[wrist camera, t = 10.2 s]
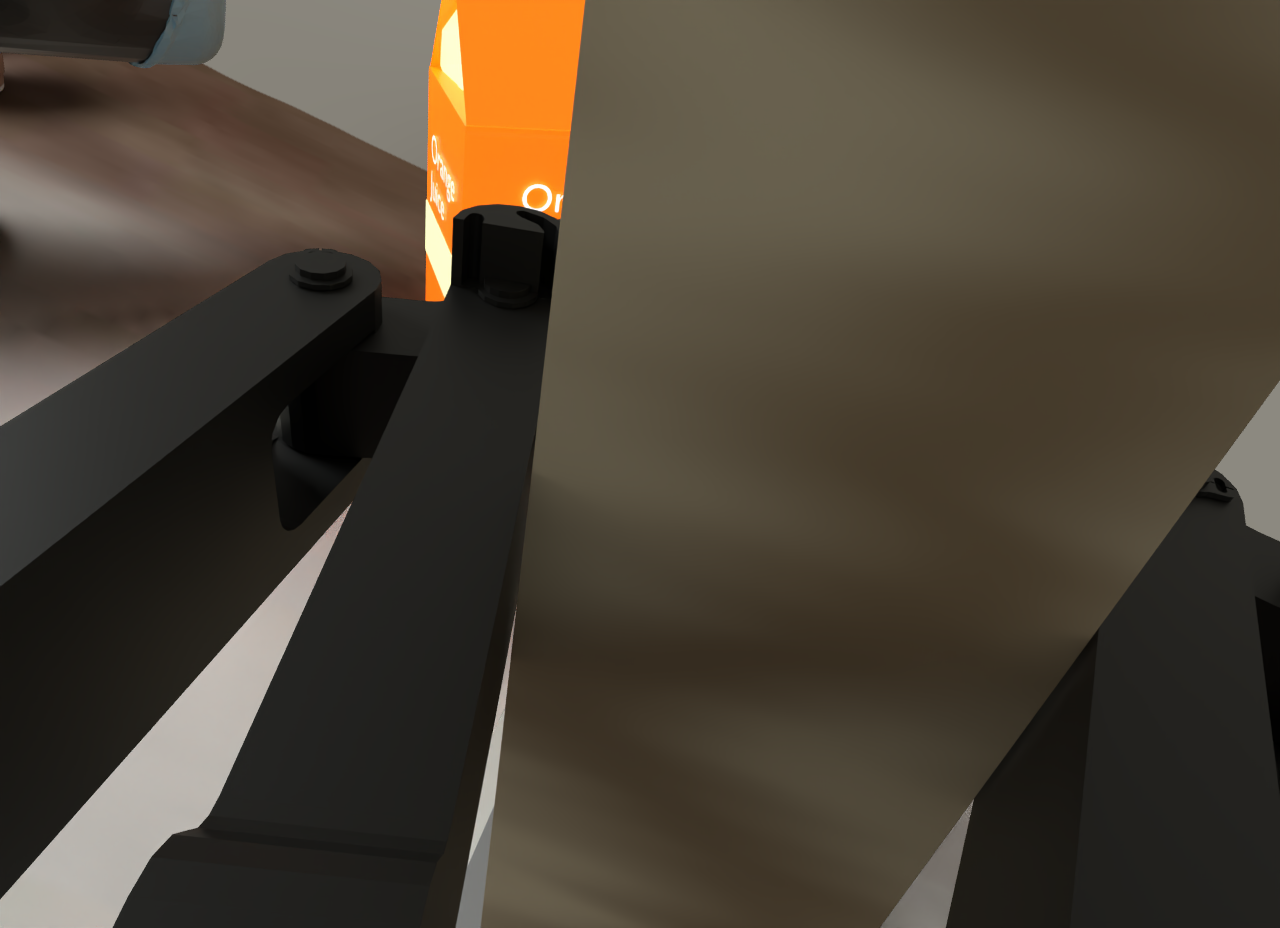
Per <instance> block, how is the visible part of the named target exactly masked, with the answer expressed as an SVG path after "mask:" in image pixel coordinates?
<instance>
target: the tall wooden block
mask: <svg viewBox="0 0 1280 928" xmlns="http://www.w3.org/2000/svg"><path fill="white" fill-rule="evenodd" d="M1279 381H1280V0H585V6H584V15H583V23H582V32H581V41H580V50H579V59H578V68H577V77H576V86H575V94H574V103H573V112H572V121H571V130H570V139H569V148H568V156H567V165H566V174H565V183H564V192H563V201H562V210H561V219H560V227H559V236H558V245H557V254H556V263H555V272H554V281H553V289H552V298H551V307H550V316H549V325H548V334H547V343H546V352H545V360H544V369H543V378H542V387H541V396H540V405H539V414H538V422H537V431H536V440H535V449H534V458H533V467H532V476H531V485H530V493H529V502H528V511H527V520H526V529H525V538H524V547H523V555H522V564H521V573H520V582H519V591H518V600H517V609H516V618H515V626H514V635H513V644H512V653H511V662H510V671H509V680H508V688H507V697H506V706H505V715H504V724H503V733H502V742H501V751H500V759H499V768H498V777H497V786H496V795H495V804H494V813H493V821H492V830H491V839H490V848H489V857H488V866H487V875H486V884H485V892H484V901H483V910H482V919H481V928H880V926H881V925H882V924H883V922H884V921H885V920H886V918H887V917H888V916H889V914H890V913H891V911H892V910H893V909H894V907H895V906H896V905H897V903H898V902H899V901H900V899H901V898H902V896H903V895H904V894H905V892H906V891H907V890H908V888H909V887H910V885H911V884H912V883H913V881H914V880H915V879H916V877H917V876H918V875H919V873H920V872H921V870H922V869H923V868H924V866H925V865H926V864H927V862H928V861H929V859H930V858H931V857H932V855H933V854H934V853H935V851H936V850H937V849H938V847H939V846H940V844H941V843H942V842H943V840H944V839H945V838H946V836H947V835H948V833H949V832H950V831H951V829H952V828H953V827H954V825H955V824H956V823H957V821H958V820H959V818H960V817H961V816H962V814H963V813H964V812H965V810H966V809H967V807H968V806H969V805H970V803H971V802H972V801H973V799H974V798H975V797H976V795H977V794H978V792H979V791H980V790H981V788H982V787H983V786H984V784H985V783H986V781H987V780H988V779H989V777H990V776H991V775H992V773H993V772H994V771H995V769H996V768H997V766H998V765H999V764H1000V762H1001V761H1002V760H1003V758H1004V757H1005V755H1006V754H1007V753H1008V751H1009V750H1010V749H1011V747H1012V746H1013V745H1014V743H1015V742H1016V740H1017V739H1018V738H1019V736H1020V735H1021V734H1022V732H1023V731H1024V730H1025V728H1026V727H1027V725H1028V724H1029V723H1030V721H1031V720H1032V719H1033V717H1034V716H1035V714H1036V713H1037V712H1038V710H1039V709H1040V708H1041V706H1042V705H1043V704H1044V702H1045V701H1046V699H1047V698H1048V697H1049V695H1050V694H1051V693H1052V691H1053V690H1054V688H1055V687H1056V686H1057V684H1058V683H1059V682H1060V680H1061V679H1062V678H1063V676H1064V675H1065V673H1066V672H1067V671H1068V669H1069V668H1070V667H1071V665H1072V664H1073V662H1074V661H1075V660H1076V658H1077V657H1078V656H1079V654H1080V653H1081V652H1082V650H1083V649H1084V647H1085V646H1086V645H1087V643H1088V642H1089V641H1090V639H1091V638H1092V636H1093V635H1094V634H1095V632H1096V631H1097V630H1098V628H1099V627H1100V626H1101V624H1102V623H1103V621H1104V620H1105V619H1106V617H1107V616H1108V615H1109V613H1110V612H1111V610H1112V609H1113V608H1114V606H1115V605H1116V604H1117V602H1118V601H1119V600H1120V598H1121V597H1122V595H1123V594H1124V593H1125V591H1126V590H1127V589H1128V587H1129V586H1130V585H1131V583H1132V582H1133V580H1134V579H1135V578H1136V576H1137V575H1138V574H1139V572H1140V571H1141V569H1142V568H1143V567H1144V565H1145V564H1146V563H1147V561H1148V560H1149V559H1150V557H1151V556H1152V554H1153V553H1154V552H1155V550H1156V549H1157V548H1158V546H1159V545H1160V543H1161V542H1162V541H1163V539H1164V538H1165V537H1166V535H1167V534H1168V533H1169V531H1170V530H1171V528H1172V527H1173V526H1174V524H1175V523H1176V522H1177V520H1178V519H1179V517H1180V516H1181V515H1182V513H1183V512H1184V511H1185V509H1186V508H1187V507H1188V505H1189V504H1190V502H1191V501H1192V500H1193V498H1194V497H1195V496H1196V494H1197V493H1198V491H1199V490H1200V489H1201V487H1202V486H1203V485H1204V483H1205V482H1206V481H1207V479H1208V478H1209V476H1210V475H1211V474H1212V472H1213V471H1214V470H1215V468H1216V467H1217V465H1218V464H1219V463H1220V461H1221V460H1222V459H1223V457H1224V456H1225V455H1226V453H1227V452H1228V450H1229V449H1230V448H1231V446H1232V445H1233V444H1234V442H1235V441H1236V439H1237V438H1238V437H1239V435H1240V434H1241V433H1242V431H1243V430H1244V429H1245V427H1246V426H1247V424H1248V423H1249V422H1250V420H1251V419H1252V418H1253V416H1254V415H1255V414H1256V412H1257V410H1258V409H1259V408H1260V407H1261V405H1262V404H1263V402H1264V401H1265V400H1266V398H1267V397H1268V396H1269V394H1270V393H1271V392H1272V390H1273V389H1274V388H1275V386H1276V385H1277V383H1278V382H1279Z"/></svg>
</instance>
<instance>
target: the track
mask: <svg viewBox="0 0 1280 928" xmlns="http://www.w3.org/2000/svg"><path fill="white" fill-rule="evenodd" d="M504 715H505V709H504V711H503V713H502V715H501V717H500V719H499V721H498V723H497V726H496V728H495V730H494V732H493V734H492V738H491V743H490V748H489V754H488V759H487V764H486V770H485V775H484V780H483V785H482V791H481V796H480V801H479V807H478V812H477V817H476V822H475V828H474V833H473V838H472V844H471V849H470V854H469V860H468V865H467V870H466V875H465V881H464V886H463V891H462V897H461V902H460V907H459V913H458V918H457V923H456V928H481V919H482V910H483V901H484V892H485V884H486V875H487V866H488V857H489V848H490V839H491V830H492V821H493V813H494V804H495V795H496V786H497V777H498V768H499V759H500V751H501V742H502V733H503V724H504Z"/></svg>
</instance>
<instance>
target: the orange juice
mask: <svg viewBox="0 0 1280 928" xmlns="http://www.w3.org/2000/svg"><path fill="white" fill-rule="evenodd" d="M584 6H585V0H442V1H441V7H440V13H439V19H438V25H437V31H436V37H435V43H434V49H433V55H432V61H431V66H429V110H428V111H429V112H428V175H427V200H426V241H425V250H426V301H444V298H445V296H446V294H447V292H448V289H449V287H450V285H451V260H452V230H453V217H454V216H456V215H457V214H458V213H459V212H460V211H461V210H464V209H467V208H470V207H474V206H477V205H489V204H504V205H515V206H522V207H526V208H530V209H534V210H538V211H541V212H544V213H546V214H548V215H550V216H552V217H555V218H557V219H560V218H561V210H562V201H563V192H564V183H565V174H566V165H567V156H568V148H569V139H570V130H571V121H572V112H573V103H574V94H575V86H576V77H577V68H578V59H579V50H580V41H581V32H582V23H583V15H584Z"/></svg>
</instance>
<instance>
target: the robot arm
mask: <svg viewBox="0 0 1280 928" xmlns="http://www.w3.org/2000/svg"><path fill="white" fill-rule="evenodd" d="M225 12H226V0H0V52H3V53H16V54H29V55H43V56H56V57H69V58H82V59H95V60H109V61H122V62H129V63H130V64H131V65H133V66H136V67H141V68H149V67H151V66H153V65H155V64H179V65H197V64H202V63H205V62H207V61H209V60H210V59H212V58H213V57H214V56H215V55H216V54H217V53H218V51H219V49H220V47H221V45H222V41H223V37H224V29H225ZM560 219H561V218H560ZM560 219H557V218H555V217H552V216H550V215H548V214H546V213H544V212H541V211H538V210H534V209H530V208H526V207H522V206H515V205H504V204H489V205H477V206H474V207H470V208H467V209H464V210H461V211H460V212H459V213H458V214H457V215H456V216H454V217H453V230H452V260H451V285H450V287H449V289H448V292H447V294H446V296H445V298H444V301H418V300H408V299H398V298H389V297H382V284H381V276H380V272H379V270H378V269H377V268H376V267H375V266H373V265H372V264H371V263H370V262H369V261H366V260H364V259H361V258H359V257H357V256H354V255H352V254H346V253H341V252H337V251H336V250H333V249H322V251H321V250H319V248H318V249H305V250H304V251H300V252H294V253H288V254H284V255H282V256H279V257H277V258H274V259H272V260H269V261H268V262H266V263H265V264H263V265H261V266H260V267H258V268H256V269H255V270H253V271H252V272H250V273H248V274H247V275H245V276H243V277H242V278H240V279H239V280H237V281H235V282H234V283H232V284H230V285H229V286H227V287H226V288H224V289H222V290H221V291H219V292H218V293H216V294H214V295H213V296H211V297H209V298H208V299H206V300H205V301H203V302H201V303H200V304H198V305H196V306H195V307H193V308H192V309H190V310H188V311H187V312H185V313H183V314H182V315H180V316H179V317H177V318H175V319H174V320H172V321H170V322H169V323H167V324H166V325H164V326H162V327H161V328H159V329H158V330H156V331H154V332H153V333H151V334H149V335H148V336H146V337H145V338H143V339H141V340H140V341H138V342H136V343H135V344H133V345H132V346H130V347H128V348H127V349H125V350H123V351H122V352H120V353H119V354H117V355H115V356H114V357H112V358H110V359H109V360H107V361H106V362H104V363H102V364H101V365H99V366H98V367H96V368H94V369H93V370H91V371H89V372H88V373H86V374H85V375H83V376H81V377H80V378H78V379H76V380H75V381H73V382H72V383H70V384H68V385H67V386H65V387H63V388H62V389H60V390H59V391H57V392H55V393H54V394H52V395H50V396H49V397H47V398H46V399H44V400H42V401H41V402H39V403H38V404H36V405H34V406H33V407H31V408H29V409H28V410H26V411H25V412H23V413H21V414H20V415H18V416H16V417H15V418H13V419H12V420H10V421H8V422H7V423H5V424H3V425H2V426H0V899H1V898H2V897H3V896H4V894H5V893H6V892H7V891H8V890H9V889H10V888H11V887H12V885H13V884H14V883H15V882H16V881H17V880H18V879H19V878H20V876H21V875H22V874H23V873H24V872H25V871H26V870H27V868H28V867H29V866H30V865H31V864H32V863H33V862H34V861H35V859H36V858H37V857H38V856H39V855H40V854H41V853H42V852H43V850H44V849H45V848H46V847H47V846H48V845H49V844H50V843H51V841H52V840H53V839H54V838H55V837H56V836H57V835H58V833H59V832H60V831H61V830H62V829H63V828H64V827H65V826H66V824H67V823H68V822H69V821H70V820H71V819H72V818H73V817H74V815H75V814H76V813H77V812H78V811H79V810H80V809H81V807H82V806H83V805H84V804H85V803H86V802H87V801H88V800H89V798H90V797H91V796H92V795H93V794H94V793H95V792H96V791H97V789H98V788H99V787H100V786H101V785H102V784H103V783H104V782H105V780H106V779H107V778H108V777H109V776H110V775H111V774H112V772H113V771H114V770H115V769H116V768H117V767H118V766H119V765H120V763H121V762H122V761H123V760H124V759H125V758H126V757H127V756H128V754H129V753H130V752H131V751H132V750H133V749H134V748H135V747H136V745H137V744H138V743H139V742H140V741H141V740H142V739H143V737H144V736H145V735H146V734H147V733H148V732H149V731H150V730H151V728H152V727H153V726H154V725H155V724H156V723H157V722H158V721H159V719H160V718H161V717H162V716H163V715H164V714H165V713H166V711H167V710H168V709H169V708H170V707H171V706H172V705H173V704H174V702H175V701H176V700H177V699H178V698H179V697H180V696H181V695H182V693H183V692H184V691H185V690H186V689H187V688H188V687H189V686H190V684H191V683H192V682H193V681H194V680H195V679H196V678H197V676H198V675H199V674H200V673H201V672H202V671H203V670H204V669H205V667H206V666H207V665H208V664H209V663H210V662H211V661H212V660H213V658H214V657H215V656H216V655H217V654H218V653H219V652H220V650H221V649H222V648H223V647H224V646H225V645H226V644H227V643H228V641H229V640H230V639H231V638H232V637H233V636H234V635H235V634H236V632H237V631H238V630H239V629H240V628H241V627H242V626H243V625H244V623H245V622H246V621H247V620H248V619H249V618H250V617H251V615H252V614H253V613H254V612H255V611H256V610H257V609H258V608H259V606H260V605H261V604H262V603H263V602H264V601H265V600H266V599H267V597H268V596H269V595H270V594H271V593H272V592H273V591H274V589H275V588H276V587H277V586H278V585H279V584H280V583H281V582H282V580H283V579H284V578H285V577H286V576H287V575H288V574H289V573H290V571H291V570H292V569H293V568H294V567H295V566H296V565H297V564H298V562H299V561H300V560H301V559H302V558H303V557H304V556H305V554H306V553H307V552H308V551H309V550H310V549H311V548H312V547H313V545H314V544H315V543H316V542H317V541H318V540H319V539H320V538H321V536H322V535H323V534H324V533H325V532H326V531H327V530H328V528H329V527H330V526H331V525H332V524H333V523H334V522H335V521H336V519H337V518H338V517H339V516H340V515H341V514H342V513H343V512H344V510H345V509H346V508H347V507H348V506H349V505H350V504H351V503H352V504H351V506H350V508H349V511H348V513H347V515H346V517H345V519H344V522H343V524H342V526H341V528H340V531H339V533H338V535H337V537H336V539H335V542H334V544H333V546H332V548H331V550H330V553H329V555H328V557H327V559H326V561H325V564H324V566H323V568H322V570H321V573H320V575H319V577H318V579H317V581H316V584H315V586H314V588H313V590H312V592H311V595H310V597H309V599H308V601H307V603H306V606H305V608H304V610H303V612H302V615H301V617H300V619H299V621H298V623H297V626H296V628H295V630H294V632H293V634H292V637H291V639H290V641H289V643H288V646H287V648H286V650H285V652H284V654H283V657H282V659H281V661H280V663H279V665H278V668H277V670H276V672H275V674H274V676H273V679H272V681H271V683H270V685H269V688H268V690H267V692H266V694H265V696H264V699H263V701H262V703H261V705H260V707H259V710H258V712H257V714H256V716H255V718H254V721H253V723H252V725H251V727H250V730H249V732H248V734H247V736H246V738H245V741H244V743H243V745H242V747H241V749H240V752H239V754H238V756H237V758H236V761H235V763H234V765H233V767H232V769H231V772H230V774H229V776H228V778H227V780H226V783H225V785H224V787H223V789H222V791H221V794H220V796H219V798H218V800H217V801H216V803H215V805H214V807H213V809H212V811H211V812H210V814H209V816H208V817H207V818H206V819H205V820H204V821H203V823H202V824H201V825H200V826H199V827H198V828H195V829H191V830H187V831H183V832H180V833H176V834H172V835H171V837H170V838H169V839H168V840H167V841H166V842H165V843H164V844H163V845H162V846H161V847H160V848H159V849H158V850H157V851H156V853H155V854H154V855H153V856H152V857H151V858H150V860H149V862H148V864H147V865H146V867H145V869H144V870H143V872H142V874H141V875H140V877H139V879H138V881H137V882H136V884H135V886H134V887H133V889H132V891H131V892H130V894H129V896H128V898H127V900H126V902H125V904H124V906H123V908H122V910H121V912H120V914H119V916H118V918H117V920H116V922H115V924H114V926H113V928H456V923H457V918H458V913H459V907H460V902H461V897H462V891H463V886H464V881H465V875H466V870H467V865H468V860H469V854H470V849H471V844H472V838H473V833H474V828H475V822H476V817H477V812H478V807H479V801H480V796H481V791H482V785H483V780H484V775H485V770H486V764H487V759H488V754H489V748H490V743H491V738H492V732H493V727H494V722H495V717H496V711H497V706H498V701H499V695H500V690H501V685H502V680H503V674H504V669H505V664H506V658H507V653H508V648H509V642H510V637H511V632H512V627H513V621H514V616H515V611H516V605H517V600H518V591H519V582H520V573H521V564H522V555H523V547H524V538H525V529H526V520H527V511H528V502H529V493H530V485H531V476H532V467H533V458H534V449H535V440H536V431H537V422H538V414H539V405H540V396H541V387H542V378H543V369H544V360H545V352H546V343H547V334H548V325H549V316H550V307H551V298H552V289H553V281H554V272H555V263H556V254H557V245H558V236H559V227H560ZM352 501H353V502H352ZM946 928H1280V542H1279V541H1277V540H1275V539H1273V538H1271V537H1268V536H1266V535H1264V534H1262V533H1260V532H1258V531H1256V530H1254V529H1252V528H1250V527H1248V526H1246V523H1245V515H1244V507H1243V502H1242V500H1241V498H1240V496H1239V493H1238V491H1237V489H1236V488H1235V487H1234V486H1233V485H1232V484H1231V482H1229V481H1228V480H1227V479H1226V478H1225V477H1224V476H1223V475H1222V474H1221V473H1219V472H1218V471H1216V470H1214V471H1213V472H1212V474H1211V475H1210V476H1209V478H1208V479H1207V481H1206V482H1205V483H1204V485H1203V486H1202V487H1201V489H1200V490H1199V491H1198V493H1197V494H1196V496H1195V497H1194V498H1193V500H1192V501H1191V502H1190V504H1189V505H1188V507H1187V508H1186V509H1185V511H1184V512H1183V513H1182V515H1181V516H1180V517H1179V519H1178V520H1177V522H1176V523H1175V524H1174V526H1173V527H1172V528H1171V530H1170V531H1169V533H1168V534H1167V535H1166V537H1165V538H1164V539H1163V541H1162V542H1161V543H1160V545H1159V546H1158V548H1157V549H1156V550H1155V552H1154V553H1153V554H1152V556H1151V557H1150V559H1149V560H1148V561H1147V563H1146V564H1145V565H1144V567H1143V568H1142V569H1141V571H1140V572H1139V574H1138V575H1137V576H1136V578H1135V579H1134V580H1133V582H1132V583H1131V585H1130V586H1129V587H1128V589H1127V590H1126V591H1125V593H1124V594H1123V595H1122V597H1121V598H1120V600H1119V601H1118V602H1117V604H1116V605H1115V606H1114V608H1113V609H1112V610H1111V612H1110V613H1109V615H1108V616H1107V617H1106V619H1105V620H1104V621H1103V623H1102V624H1101V626H1100V627H1099V628H1098V630H1097V631H1096V632H1095V634H1094V635H1093V636H1092V638H1091V639H1090V641H1089V642H1088V643H1087V645H1086V646H1085V647H1084V649H1083V650H1082V652H1081V653H1080V654H1079V656H1078V657H1077V658H1076V660H1075V661H1074V662H1073V664H1072V665H1071V667H1070V668H1069V669H1068V671H1067V672H1066V673H1065V675H1064V676H1063V678H1062V679H1061V680H1060V682H1059V683H1058V684H1057V686H1056V687H1055V688H1054V690H1053V691H1052V693H1051V694H1050V695H1049V697H1048V698H1047V699H1046V701H1045V702H1044V704H1043V705H1042V706H1041V708H1040V709H1039V710H1038V712H1037V713H1036V714H1035V716H1034V717H1033V719H1032V720H1031V721H1030V723H1029V724H1028V725H1027V727H1026V728H1025V730H1024V731H1023V732H1022V734H1021V735H1020V736H1019V738H1018V739H1017V740H1016V742H1015V743H1014V745H1013V746H1012V747H1011V749H1010V750H1009V751H1008V753H1007V754H1006V755H1005V757H1004V758H1003V760H1002V761H1001V762H1000V764H999V765H998V766H997V768H996V769H995V771H994V772H993V773H992V775H991V776H990V777H989V779H988V780H987V781H986V783H985V784H984V786H983V787H982V788H981V790H980V791H979V792H978V794H977V795H976V797H975V798H974V802H973V806H972V811H971V815H970V820H969V825H968V829H967V834H966V838H965V843H964V847H963V852H962V857H961V861H960V866H959V870H958V875H957V879H956V884H955V889H954V893H953V898H952V902H951V907H950V911H949V916H948V921H947V925H946Z"/></svg>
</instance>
